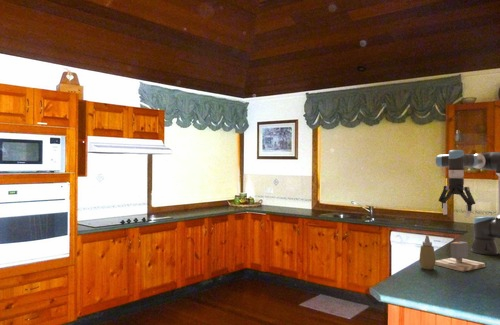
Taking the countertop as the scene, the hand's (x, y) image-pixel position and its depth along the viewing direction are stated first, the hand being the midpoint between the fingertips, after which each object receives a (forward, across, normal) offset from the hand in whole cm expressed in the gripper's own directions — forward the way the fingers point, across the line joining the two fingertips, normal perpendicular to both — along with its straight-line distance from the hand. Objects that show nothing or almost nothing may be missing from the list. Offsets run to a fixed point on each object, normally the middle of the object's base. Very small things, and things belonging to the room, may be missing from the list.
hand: (456, 215), depth 220 cm
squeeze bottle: (+28, -4, -19) cm, 34 cm away
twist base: (+28, 0, +2) cm, 28 cm away
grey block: (+23, 0, +2) cm, 23 cm away
